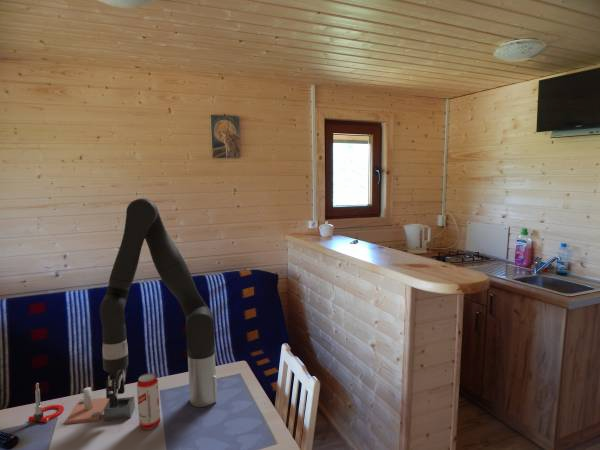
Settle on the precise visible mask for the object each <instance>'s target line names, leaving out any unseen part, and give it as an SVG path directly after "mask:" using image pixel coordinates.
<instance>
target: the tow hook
mask: <svg viewBox="0 0 600 450" xmlns="http://www.w3.org/2000/svg"><path fill="white" fill-rule="evenodd" d="M39 386H40V384H39V382H36V383H35V412H34V414H33V415H31V416H29V417H28V421H29V422H35V423H49V421H50V420H51V419H54V418H57V417H59V416H60V415H61V414H62V413H63V412H64V410H65V407H64V406H63V405H61V404H51V405H47V406H44V407H42V405H41V391H40V390H41V389H40V387H39ZM54 409H55V410H57V411H56V412H54V413H52V414H48V415H45V416H44V413H45V411H48V410H54Z"/></svg>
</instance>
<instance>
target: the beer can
mask: <svg viewBox="0 0 600 450" xmlns="http://www.w3.org/2000/svg"><path fill="white" fill-rule="evenodd" d="M136 389H137V390H136V391H137V392H136V393H137V408H138V421H139V423H138V424H139V427H140V428H142V430H152V429H154V428H156V427H157V426H158V425H159V424H160V422H161V408H160V394H159V393H160V391H159V380H158V378H157V376H156V374H155V373H144V374H142V375H140V376H139V377H138V381H137V384H136Z"/></svg>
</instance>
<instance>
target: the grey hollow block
mask: <svg viewBox="0 0 600 450" xmlns="http://www.w3.org/2000/svg"><path fill="white" fill-rule="evenodd" d="M117 401H118V406H117V407H116V408H110V401H108V403H107V405H106V406H105V408H104V412H103V416H104V417H103V418H104V422H107V421H117V420H118V421H119V420H125V419H131V418H132V416H133V414H134V411H135V409H136V405H135V404H136V403H135V401H136V400H135V396H129V397H128V396H127V397H119V398H118V397H117Z"/></svg>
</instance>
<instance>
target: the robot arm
mask: <svg viewBox="0 0 600 450" xmlns="http://www.w3.org/2000/svg"><path fill="white" fill-rule="evenodd" d="M124 224H125V225H124V229H123V230H124V231H123V235H122V239H121V243H120V246H119V248H118V251H117V254H116V258H115V259H114V260H115V261H114V263H113V266H112V270H111V271H110V272H111V273H110V275H109V278H108V279H109V280H108V285H107V288H106V291H105V295H104V296H103V299H102V301H101V303H100V305H99V317H100V322H101V323H100V324H101V326H102V347H101V348H102V366H103V367H102V369H103V370H104V371H105V372H107V373H109V374H108V376H107V379H106V381H105V390H106V392H105V394H106V396H105V398H107V399H109V401H110V408H116V407H117V406H118V401H117V399H118V396H119V395H122V394H124V393H125V389H126V388H125V382H126V378H127V368H128V366H129V350H128V348H129V347H128V346H129V345H128V341H127V340H128V339H127V326H126V323H125V308H126V304H127V301H128V297H129V293H130V289H131V286H132V285H133V282H134V279H135V276H136V272H137V269H138V265H139V261H140V257H141V256H140V255H141V251H142V248H143V244H144V242H146V244H147V248H148V250H149V254H150V257H151V260H152V262H153V265H154V267H155V269H156V271H157V274H158V275H159V277H160V279H161V281H162V282H163V284H164V285H165V287H166V288H167V289H168V291H170V293H171V294H172V295H173V296H174V297H175V299H176V300H177V301H178V303H179V305H180V307H181V309H182V312H183V314H184V316H185V321H186V322H185V334H186V335H185V336H186V349H187V350H186V351H187V366H188V367H187V369H188V387H189V388H188V389H189V391H188V392H189V403H190V404H191V405H192V406H193V407H198V408H202V407H203V408H204V407H207V406H210V405H212V404H216V403H217V399H218V391H217V390H218V387H217V369H216V368H217V367H216V347H215V346H216V345H215V344H216V342H215V341H216V340H215V320H214V315H213V312H212V311H211V309H210V308H209V306H208V305H207V304H206V302H205V301H204V299H203V297H202V296H201V295H200V292H199V291H198V289H197V286H196V284H195V281H194V278H193V276H192V274H191V272H190V270H189V267H188V265H187V262H186V261H185V259H184V258H183V256H182V254H181V253H180V251H179V249H178V247H177V245H176V244H175V242H174V241H173V239H172V238H171V237H170V235H169V234H168V232H167V230H166V227H165V224H164V223H163V221H162V218H161V215H160V211H159V209H158V207H157V205H156V203H155V202H154V201H153V200H151V199H149V198H143V197H141V198H137V199H134V200H132V201H131V202H130V203H129V204H128V205H127V207H126V215H125V223H124Z"/></svg>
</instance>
